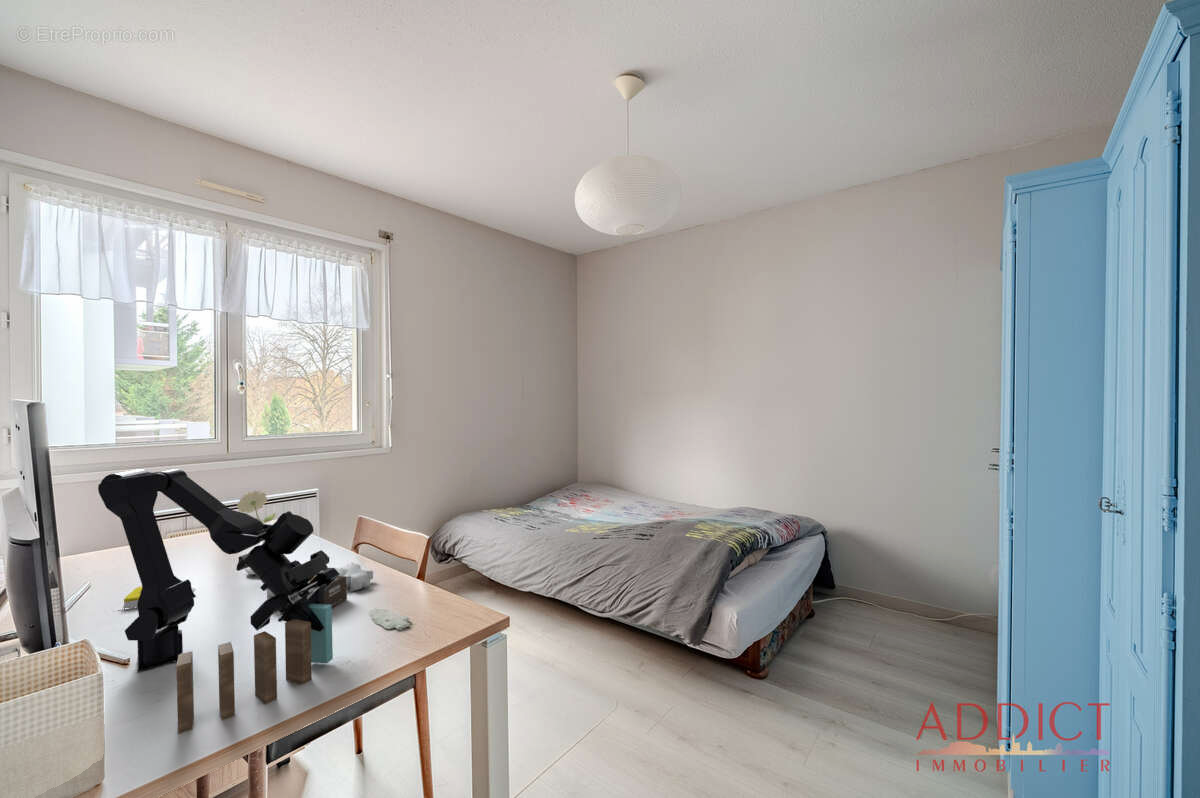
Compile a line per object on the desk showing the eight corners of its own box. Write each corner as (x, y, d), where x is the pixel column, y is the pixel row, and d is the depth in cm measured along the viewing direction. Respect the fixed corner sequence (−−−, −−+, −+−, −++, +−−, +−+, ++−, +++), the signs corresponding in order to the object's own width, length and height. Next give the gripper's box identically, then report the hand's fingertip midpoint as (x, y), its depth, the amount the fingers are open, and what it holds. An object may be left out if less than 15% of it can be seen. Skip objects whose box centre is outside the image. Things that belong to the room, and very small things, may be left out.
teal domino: (326, 663, 101) (325, 608, 100) (306, 662, 101) (305, 607, 101) (332, 658, 102) (331, 604, 102) (312, 657, 103) (311, 603, 103)
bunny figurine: (345, 582, 135) (323, 563, 145) (344, 600, 136) (322, 580, 145) (380, 572, 142) (357, 554, 152) (379, 589, 143) (356, 571, 152)
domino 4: (303, 684, 95) (302, 626, 95) (285, 680, 96) (284, 622, 96) (311, 679, 97) (310, 622, 96) (294, 675, 98) (293, 618, 98)
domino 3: (265, 704, 89) (264, 642, 89) (255, 695, 92) (253, 635, 91) (277, 698, 90) (275, 637, 90) (266, 690, 93) (264, 631, 93)
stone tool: (417, 628, 119) (382, 608, 128) (417, 619, 119) (382, 600, 128) (395, 639, 114) (360, 618, 123) (394, 629, 114) (359, 609, 123)
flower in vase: (288, 562, 162) (286, 484, 162) (291, 572, 153) (290, 490, 152) (237, 571, 154) (236, 489, 154) (238, 582, 145) (237, 495, 145)
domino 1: (178, 733, 81) (176, 666, 81) (180, 719, 85) (178, 654, 85) (192, 729, 82) (190, 662, 82) (193, 715, 86) (192, 651, 86)
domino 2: (221, 720, 85) (220, 655, 84) (219, 708, 88) (218, 645, 88) (234, 715, 86) (233, 651, 86) (232, 703, 89) (230, 641, 89)
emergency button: (185, 586, 133) (110, 596, 126) (186, 602, 133) (110, 614, 127) (196, 574, 141) (126, 583, 135) (196, 590, 141) (126, 600, 135)
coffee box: (293, 571, 136) (347, 575, 133) (294, 595, 136) (348, 599, 133) (265, 584, 127) (322, 588, 124) (266, 610, 127) (323, 614, 124)
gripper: (263, 558, 93) (319, 622, 91) (331, 530, 111) (378, 582, 110) (225, 599, 94) (280, 662, 92) (298, 564, 112) (345, 616, 111)
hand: (325, 627), depth 101 cm, fingers closed on teal domino, 2 cm apart
